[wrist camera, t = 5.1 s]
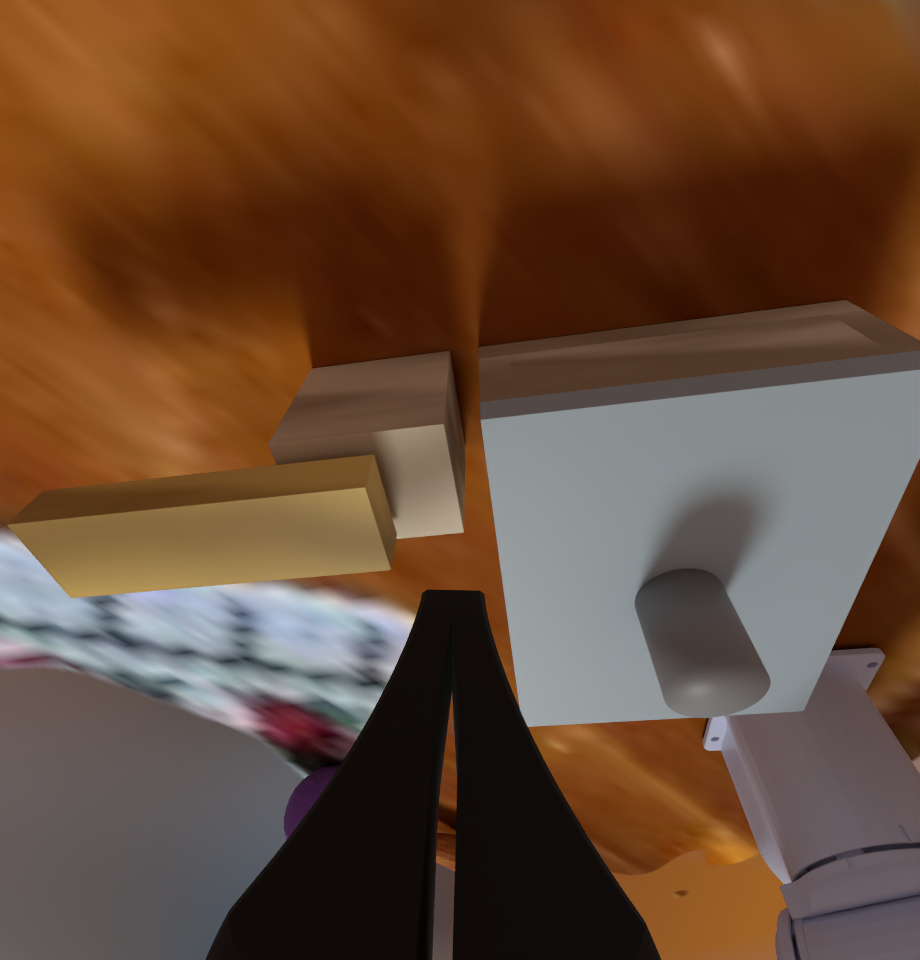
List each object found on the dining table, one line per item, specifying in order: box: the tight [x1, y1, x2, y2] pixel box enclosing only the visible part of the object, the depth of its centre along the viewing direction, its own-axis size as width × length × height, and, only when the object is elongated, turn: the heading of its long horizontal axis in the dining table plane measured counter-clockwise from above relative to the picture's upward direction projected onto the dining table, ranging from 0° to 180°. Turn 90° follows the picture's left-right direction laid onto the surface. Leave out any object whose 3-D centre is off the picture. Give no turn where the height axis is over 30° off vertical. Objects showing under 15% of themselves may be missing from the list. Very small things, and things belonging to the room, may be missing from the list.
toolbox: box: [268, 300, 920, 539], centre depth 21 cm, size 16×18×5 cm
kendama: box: [284, 765, 456, 871], centre depth 39 cm, size 6×6×20 cm
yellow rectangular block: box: [7, 454, 397, 598], centre depth 15 cm, size 3×10×2 cm, turn 98°
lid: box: [480, 350, 920, 727], centre depth 18 cm, size 16×12×6 cm
